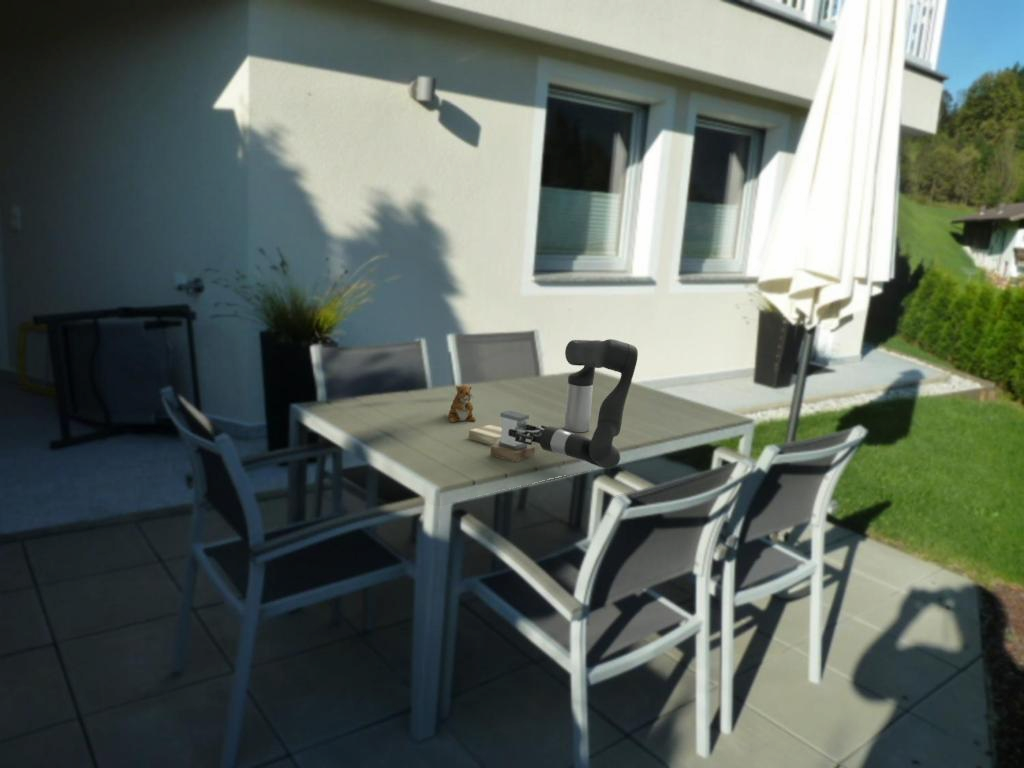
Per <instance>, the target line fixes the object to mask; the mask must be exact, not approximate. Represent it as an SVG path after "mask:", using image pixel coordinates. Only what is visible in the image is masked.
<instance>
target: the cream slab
mask: <svg viewBox="0 0 1024 768" xmlns="http://www.w3.org/2000/svg"><path fill="white" fill-rule="evenodd" d="M501 433H502V426H499V425H496V424H492V423H491V424H488V425H487V424H486V425H483V426H480V427H475V428H473V429H469V430H468V440H472V441H475V442H478V443H483V444H485V445H488V444H489V446H493V445H496V444H499V442H500V441H501Z"/></svg>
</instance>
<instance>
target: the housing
mask: <svg viewBox="0 0 1024 768" xmlns="http://www.w3.org/2000/svg"><path fill="white" fill-rule="evenodd" d="M500 417H501V418H502V419H501V427H502V433H501V441H500V442H499V446H503V447H506V448H509V449H513V450H516V451H518V450H521V449H525V448H527V445H528V444H524V443H521V442H517V441H515V438H514V437H511V436H509V435H508V432H509V429H513V430H517V431H522V432H525V431H526V425H527V424H528V423H527V422H528V421H527V420H529V419H530V414H526V413H522V412H518V411H513V410H507V411H504V412H500ZM524 435H525V434H524Z"/></svg>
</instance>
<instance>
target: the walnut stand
mask: <svg viewBox="0 0 1024 768" xmlns="http://www.w3.org/2000/svg"><path fill="white" fill-rule="evenodd" d="M535 448H536V447H535V446H532V445H528V444H527V448H525V449H521V450H518V451H516V450H513V449H509V448H506V447H503V446H499V444H496V445H493V446H492V445H490V456H492V455H493V457H496V458H499V459H502V458H503V459H502V460H505V459H506V461H508V460H510V461H509V462H512V461H513V462H512V463H517V462H521V461H523V460H526V459H529V458H533V457H534V456H535Z"/></svg>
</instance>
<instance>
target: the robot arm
mask: <svg viewBox="0 0 1024 768" xmlns="http://www.w3.org/2000/svg"><path fill="white" fill-rule="evenodd" d="M564 355H565V359H566V361H567V363H568V364H569V365H571V366H582V368H581V369H580V370H578V371H575V372H572V373H570V374H569V375H568V379H567V387H566V388H567V389H566V390H567V391H566V403H565V413H564V414H565V415H564V429H562V428H557V427H554V426H545V425H536V426H535V425H532V424H528V423H527V424H526V431H525V432H522V431H517V430H513V429H509V432H508V435H509V436H511V437H514V438H515V441H517V442H521V443H524V444H527V445H529V446H532V445H533V444H532V443H534V444H539V445H540V448H541V449H542V450H544V451H547V452H551V453H554V454H558V455H561V456H566V457H570V458H575V459H578V460H583V461H585V462H587V463H589V464H592V465H594V466H597V467H600V468H602V469H608V470H609V469H612V468H615V467H617V465H618V464H619V463H620V461H621V454H620V452H619V450H618V449H617V447H616V446H614V445H613V440H614V438H616V437H617V436H618V435H619V434H620V433H621V429H622V421H623V415H624V409H625V404H626V400H627V397H628V394H629V391H630V387H631V384H632V381H633V377H634V373H635V371H636V367H637V361H638V355H639V354H638V349H637V347H636V346H635V345H632V344H630V343H627V342H625V341H620V340H617V339H611V338H609V339H608V338H607V339H605V340H598V339H597V340H589V339H588V340H587V339H573V340H570V341H569V342H568V343H567V345H566V347H565V351H564ZM602 368H604V369H607V370H609V371H614V372H618V373H620V378H619V381H618V383H617V384H616V386H615V387H614V389H613V390H611V392H610V393H609V394H608V395H607V396H606V397H604V399H603V401H602V402H601V405H600V406H599V410H598V418H597V425H596V428H595V430H594V431H593V434H592V437H591V439H590V438H588V437H586V436H584V435H582V434H576V433H586V432H589V431H590V426H591V425H590V424H591V412H592V401H593V389H594V381H595V380H594V378H595V375H596V374H595V373H596V372H595V371H596V369H602ZM524 434H525V435H524Z"/></svg>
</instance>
